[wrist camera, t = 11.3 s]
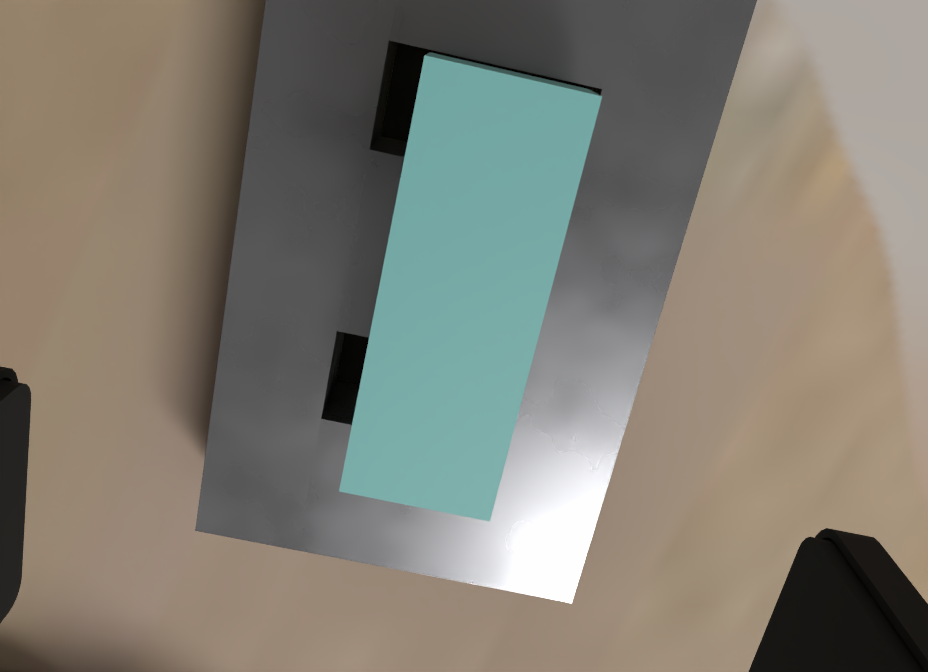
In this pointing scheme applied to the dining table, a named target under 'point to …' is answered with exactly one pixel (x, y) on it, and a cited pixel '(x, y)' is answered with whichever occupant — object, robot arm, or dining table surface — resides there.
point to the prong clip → (465, 283)
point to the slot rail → (363, 252)
